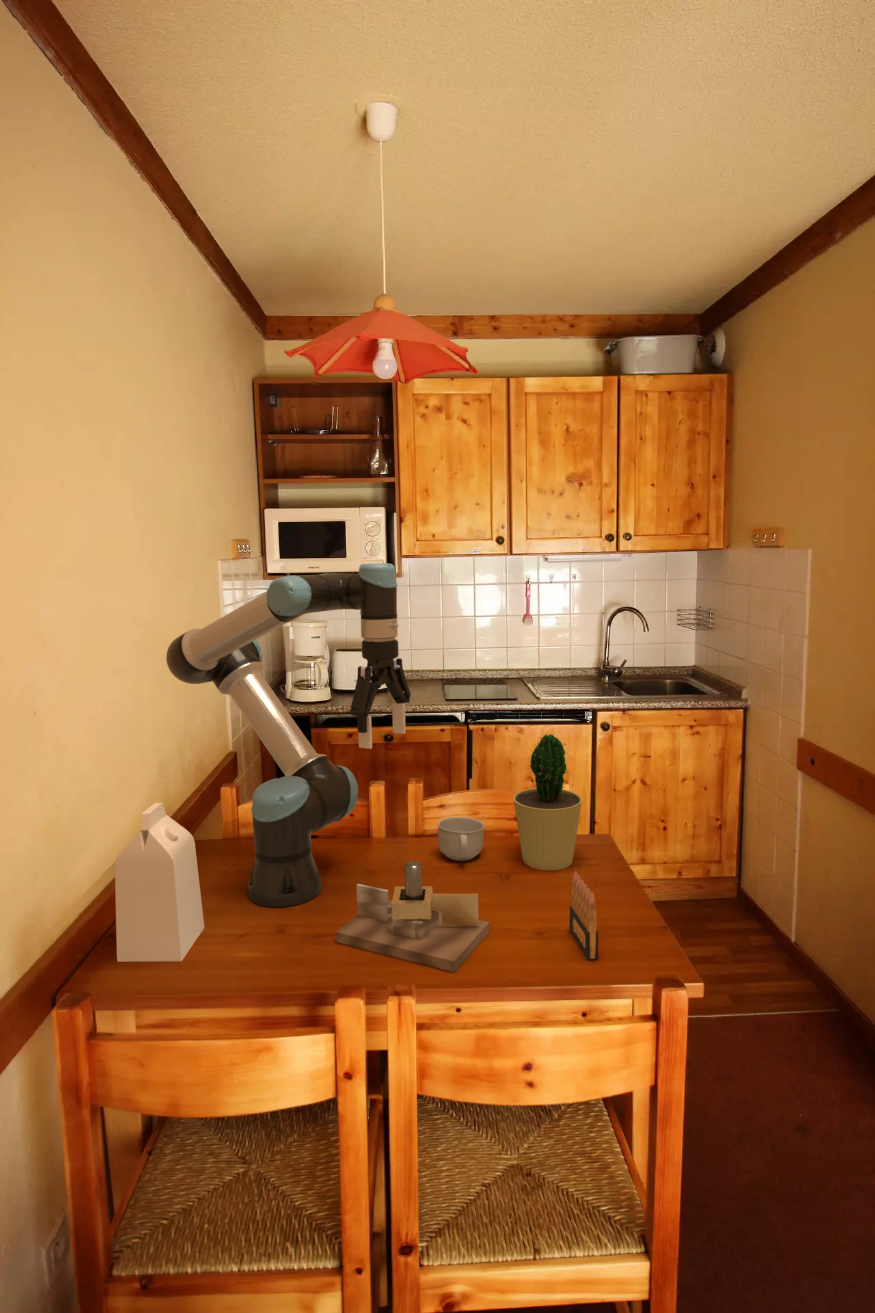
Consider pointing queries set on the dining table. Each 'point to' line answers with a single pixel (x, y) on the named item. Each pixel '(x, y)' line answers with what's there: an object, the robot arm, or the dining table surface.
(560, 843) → the potted cactus
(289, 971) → the dining table surface
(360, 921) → the hinge base
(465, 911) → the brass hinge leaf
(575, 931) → the ammunition clip
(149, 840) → the milk
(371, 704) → the robot arm
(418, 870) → the hinge pin
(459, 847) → the teacup
